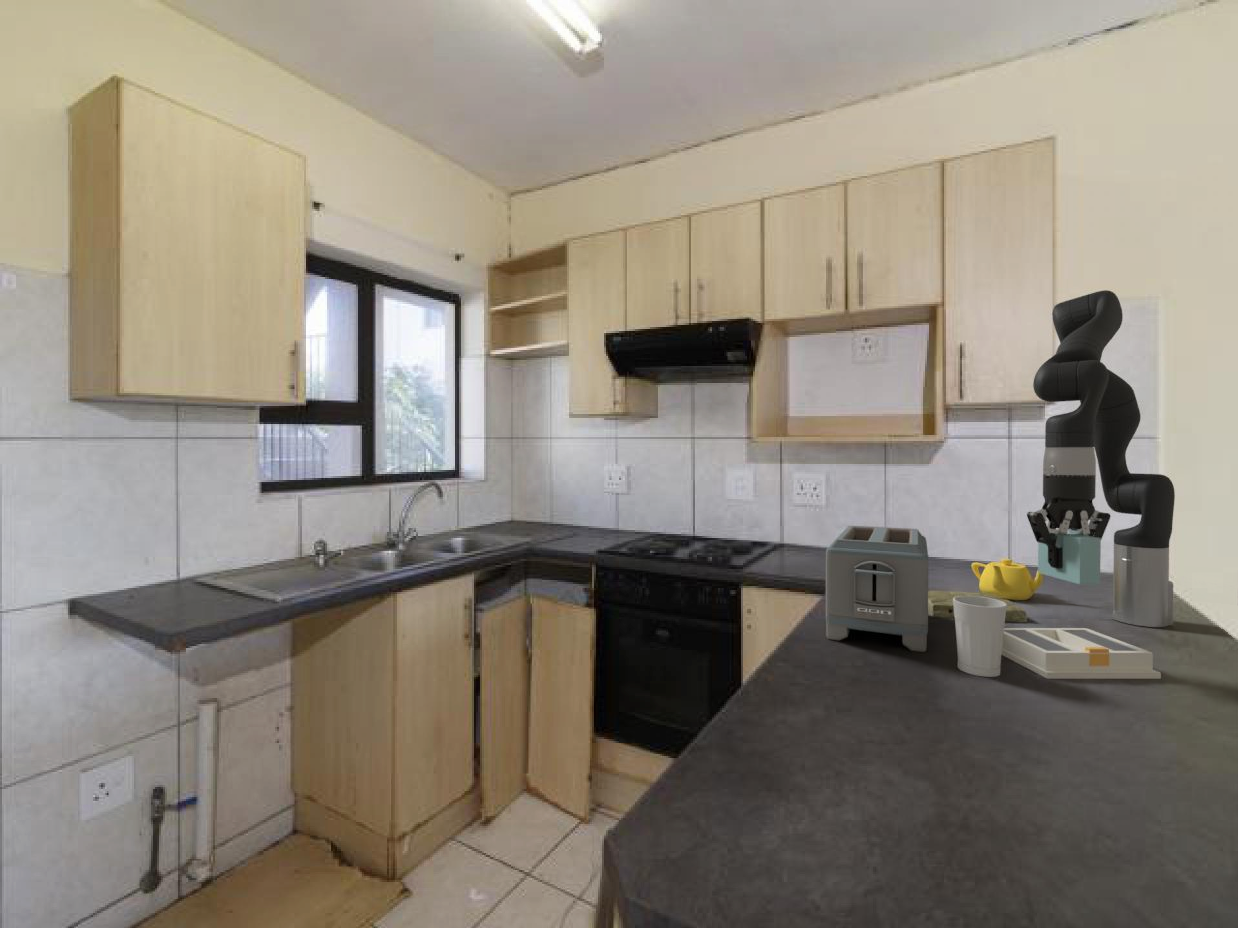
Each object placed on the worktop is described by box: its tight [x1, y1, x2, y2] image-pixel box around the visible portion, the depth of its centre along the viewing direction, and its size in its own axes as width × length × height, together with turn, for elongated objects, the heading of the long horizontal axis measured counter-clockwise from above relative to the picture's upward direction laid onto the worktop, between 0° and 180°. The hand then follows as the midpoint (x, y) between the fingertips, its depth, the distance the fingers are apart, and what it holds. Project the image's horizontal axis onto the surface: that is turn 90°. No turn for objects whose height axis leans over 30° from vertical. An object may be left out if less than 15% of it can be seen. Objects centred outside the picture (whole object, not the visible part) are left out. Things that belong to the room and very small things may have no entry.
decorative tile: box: [928, 590, 1028, 623], centre depth 140 cm, size 19×20×4 cm
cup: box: [953, 596, 1007, 678], centre depth 101 cm, size 8×8×12 cm
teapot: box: [970, 558, 1044, 601], centre depth 154 cm, size 14×13×10 cm
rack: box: [1001, 627, 1162, 680], centre depth 105 cm, size 19×16×5 cm
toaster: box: [825, 525, 929, 653], centre depth 125 cm, size 19×33×20 cm, turn 153°
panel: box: [1037, 532, 1102, 585], centre depth 105 cm, size 4×10×8 cm, turn 0°
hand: (1067, 567), depth 105 cm, fingers closed on panel, 3 cm apart
